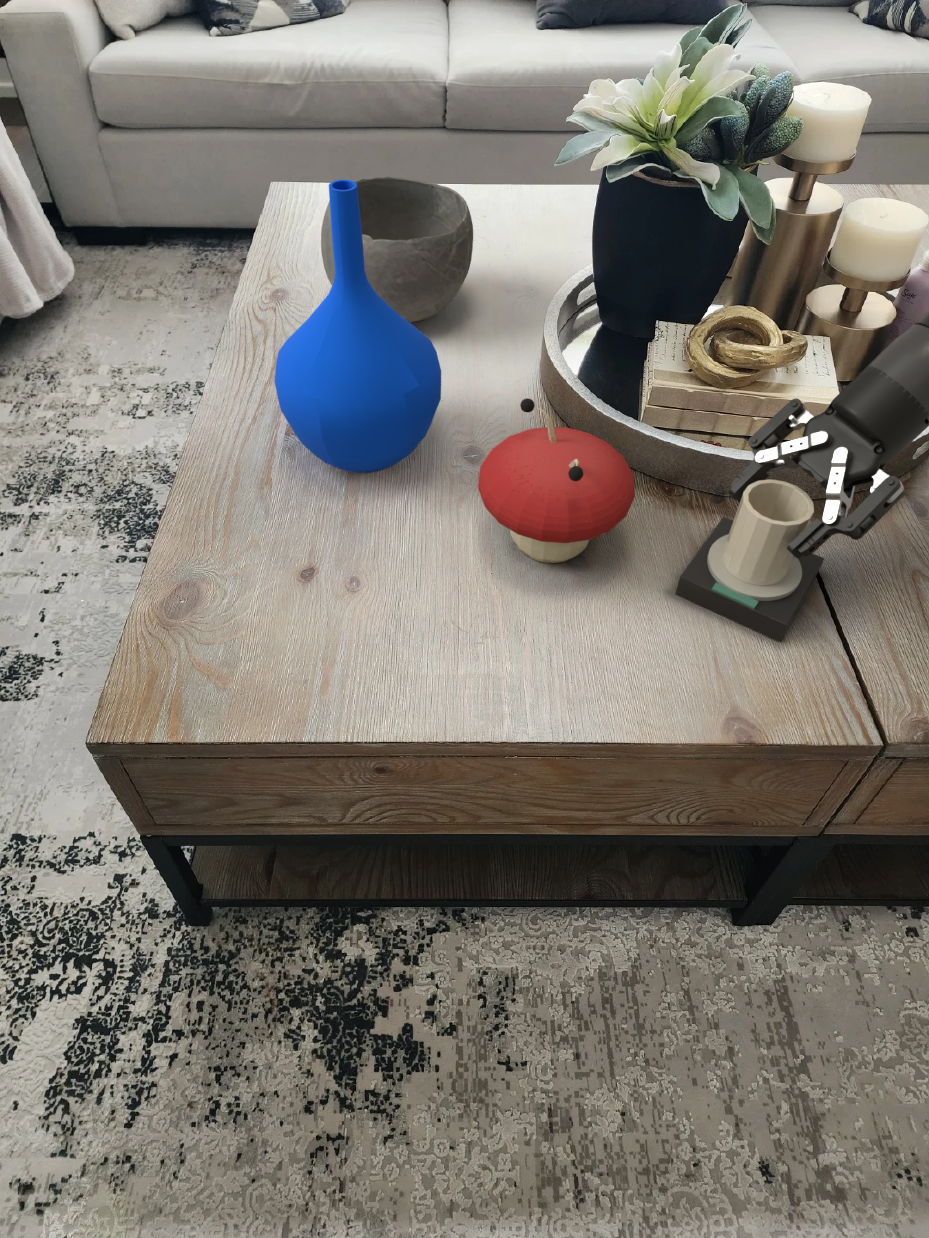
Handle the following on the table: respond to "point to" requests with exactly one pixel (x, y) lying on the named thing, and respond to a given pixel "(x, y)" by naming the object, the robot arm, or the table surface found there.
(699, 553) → the kitchen scale
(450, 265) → the bowl
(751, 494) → the beige cup
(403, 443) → the vase
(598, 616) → the table surface
